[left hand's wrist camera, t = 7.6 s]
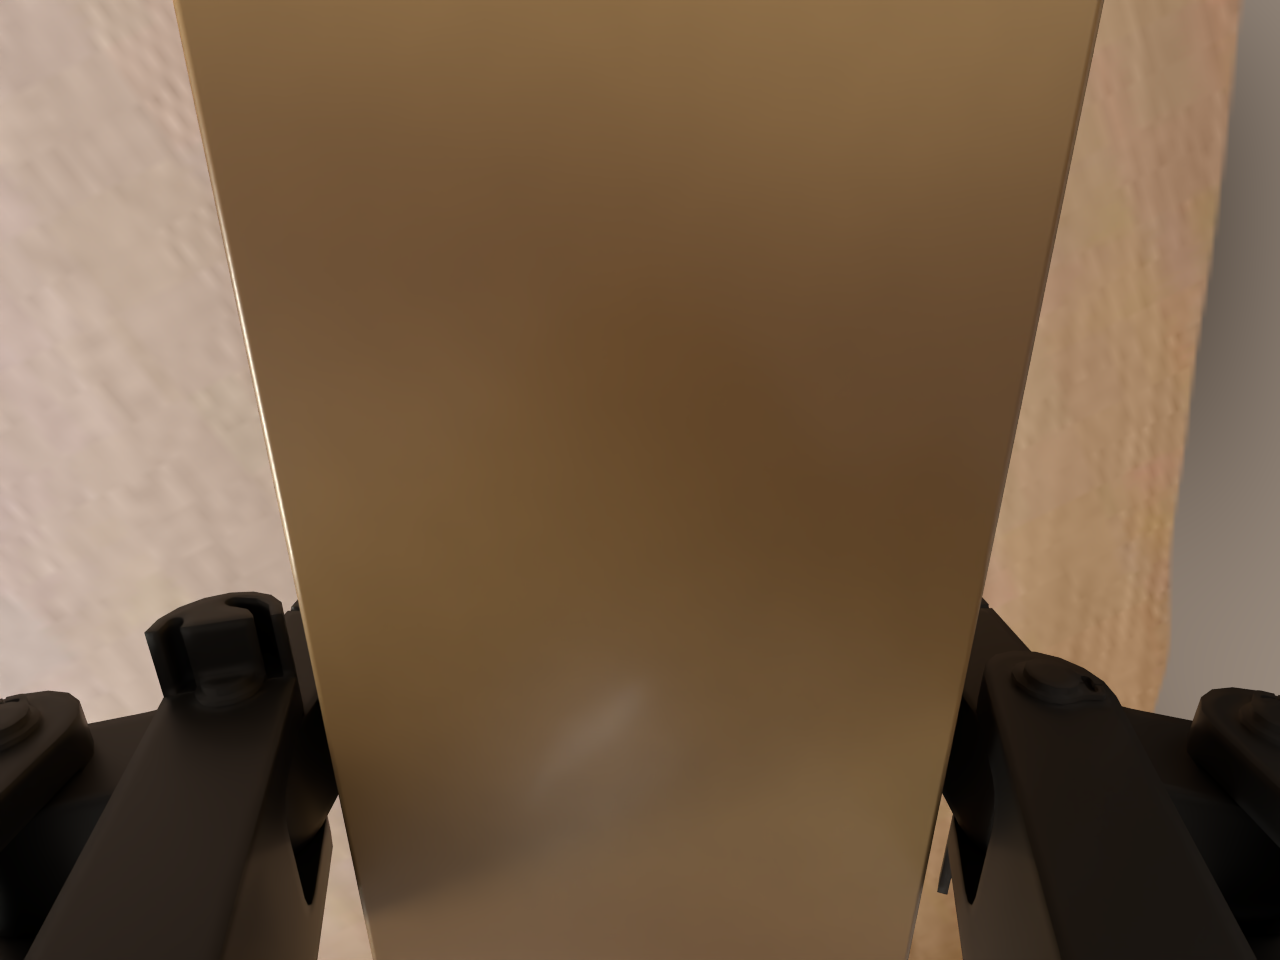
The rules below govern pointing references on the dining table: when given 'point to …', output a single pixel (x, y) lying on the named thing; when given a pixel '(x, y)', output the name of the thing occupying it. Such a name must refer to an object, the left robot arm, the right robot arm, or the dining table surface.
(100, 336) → the dining table surface
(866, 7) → the bar
